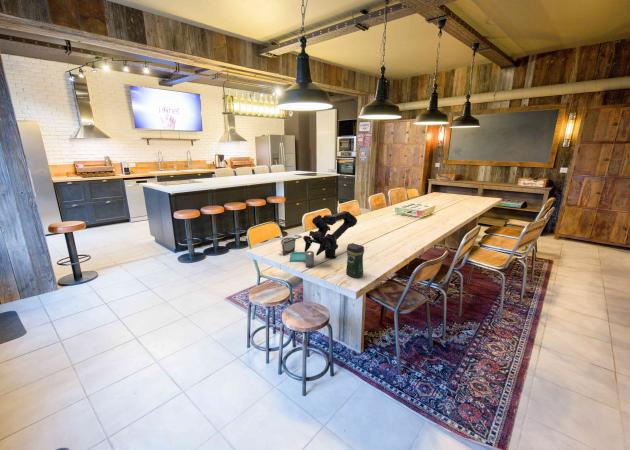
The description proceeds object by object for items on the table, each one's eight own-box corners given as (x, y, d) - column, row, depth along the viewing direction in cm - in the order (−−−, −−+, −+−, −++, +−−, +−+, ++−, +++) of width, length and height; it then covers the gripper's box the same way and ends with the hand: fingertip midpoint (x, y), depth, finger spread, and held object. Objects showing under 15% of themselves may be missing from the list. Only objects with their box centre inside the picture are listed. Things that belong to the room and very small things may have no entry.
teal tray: (311, 254, 203) (311, 251, 202) (311, 261, 189) (311, 259, 189) (290, 254, 203) (290, 252, 202) (289, 261, 189) (289, 259, 189)
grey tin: (313, 264, 185) (313, 251, 183) (314, 267, 180) (313, 254, 178) (305, 264, 185) (305, 251, 183) (305, 267, 180) (305, 254, 178)
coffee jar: (365, 275, 169) (366, 245, 165) (356, 279, 164) (357, 248, 160) (352, 270, 176) (353, 240, 172) (343, 274, 171) (344, 243, 167)
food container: (289, 249, 212) (289, 236, 209) (296, 251, 208) (295, 237, 206) (277, 254, 203) (276, 240, 200) (283, 256, 199) (283, 242, 196)
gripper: (304, 223, 186) (293, 244, 181) (328, 228, 175) (316, 250, 170) (312, 232, 194) (301, 252, 189) (335, 237, 183) (324, 259, 178)
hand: (310, 253), depth 181 cm, fingers open, 9 cm apart
